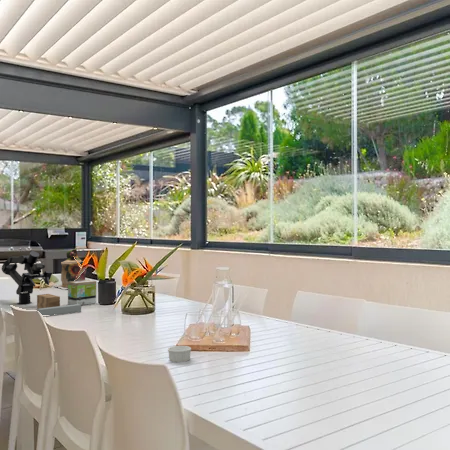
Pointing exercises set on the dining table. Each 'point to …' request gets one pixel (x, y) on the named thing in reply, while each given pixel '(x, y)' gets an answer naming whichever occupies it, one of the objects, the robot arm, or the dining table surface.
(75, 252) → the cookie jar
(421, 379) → the dining table surface
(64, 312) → the gray bar
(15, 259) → the robot arm
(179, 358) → the ramekin
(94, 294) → the tea box
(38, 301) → the walnut block
